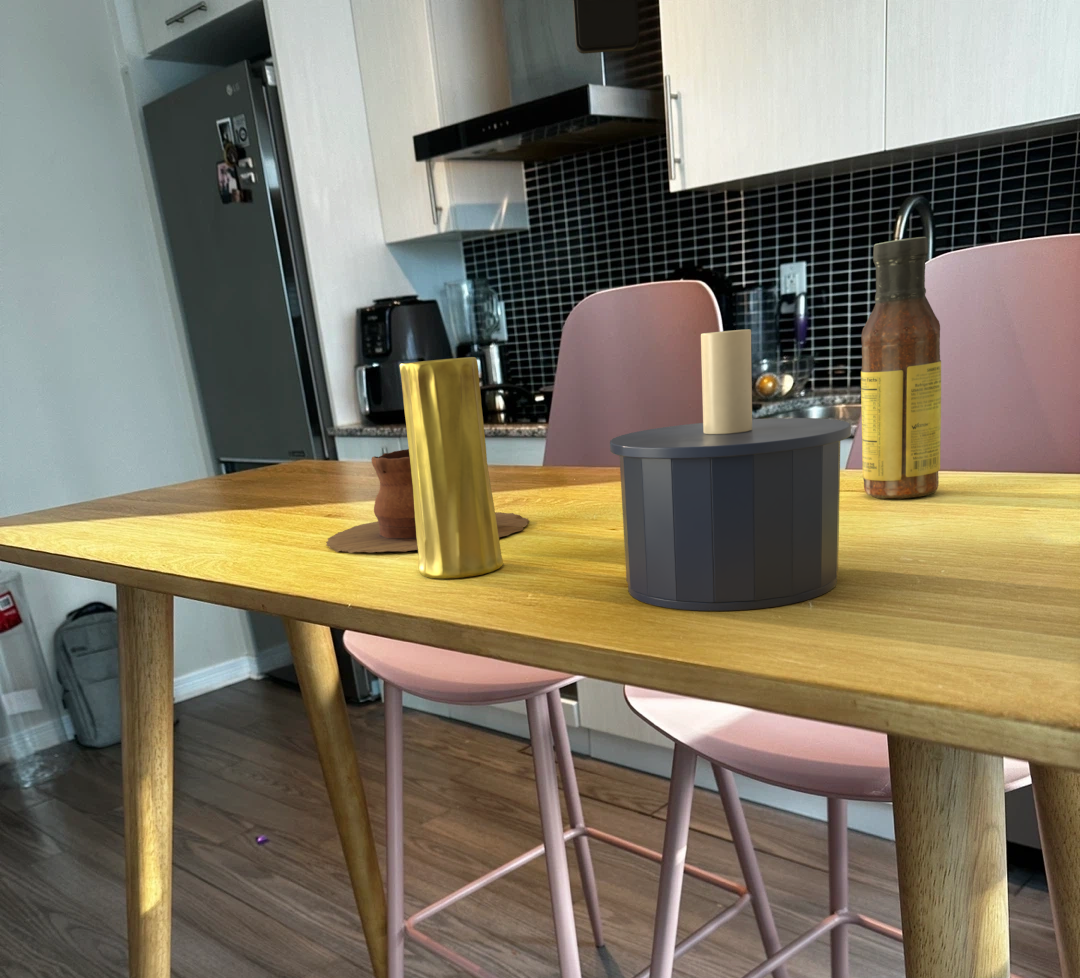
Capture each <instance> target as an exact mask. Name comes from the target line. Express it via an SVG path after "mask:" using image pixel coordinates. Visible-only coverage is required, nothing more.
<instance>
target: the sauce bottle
mask: <svg viewBox="0 0 1080 978" xmlns="http://www.w3.org/2000/svg"><path fill="white" fill-rule="evenodd" d="M928 241H929V239H928V238H927V237H926V236H918V237H908V238H901V239H895V240H894V239H893V240H890V241H884V242H879V243H875V244H874V245H873V253H872V254H873V255H872V256H873V257H872V260H873V263H874V267H875V296H874V304H875V305H874V306H873V309H872V312H871V313H870V315H869V317H868V318H867V321H866V322H865V324H864V327H863V328H862V331H861V336H860V337H861V369H860V370H861V371H860V387H861V388H860V391H861V392H860V396H861V398H860V399H861V400H860V402H861V403H860V404H861V407H860V409H861V448H862V449H861V455H862V458H861V459H862V461H861V464H862V465H861V467H862V479H863V489H864V490H863V491H864V492H865V493H866V495H867V496H870V497H873V498H876V499H878V500H879V499H880V500H881V499H899V500H900V499H901V500H902V499H903V500H904V499H909V498H910V499H911V498H919V497H925V496H928V495H931V494H935V493H936V492H937V491H938V488H939V484H940V483H939V481H940V480H939V478H940V477H939V471H940V470H941V446H942V445H941V443H942V442H941V441H942V439H941V436H942V434H941V432H942V431H941V430H942V360H941V324H940V321H939V319H938V318H937V315H936V314H935V312H934V310H933V308H932V306H931V304H930V302H929V300H928V299H927V296H926V293H927V289H926V284H925V283H926V259H927V257H928V254H929V245H928Z"/></svg>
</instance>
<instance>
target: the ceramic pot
mask: <svg viewBox="0 0 1080 978" xmlns="http://www.w3.org/2000/svg"><path fill="white" fill-rule="evenodd" d="M371 464H372V467H373V468H374V470H375V473H376V476H377V478H378V480H379V491H378V493H377V494H376V497H375V500H374V506H373V513H374V516H375V518H376V520H377V521H372V522H367V523H361V524H359V525H355V526H352V527H350V528H348V529H344V530H342V531H339V532H337V533H334V535H331V536H330V537H328V538H327V541H326V542H325V543H326V546H327V547H328V548H329V549H330V550H334V552H336V553H340V552H347V553H349V554H352V553H363V552H364V553H370V554H371V553H376V552H377V553H384V552H404V553H407V552H408V551H418V546H417V537H416V523H415V510H414V494H413V483H412V474H411V464H410V454H409V448H407V449H400V450H393V451H392V452H384V453H382V454H381V455H380V456H375V455H374V456H372V457H371ZM495 515H496V522H497V529H498V535H499V538H502V537H506V536H510V535H511V534H514V533H517V532H521V531H523V530H525V527H526V526H527V525H529V523H530V520H529V518H526V517H523V516H522V515H521V514H516V513H513V512H500V511H498V512H497V511H495Z"/></svg>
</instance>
